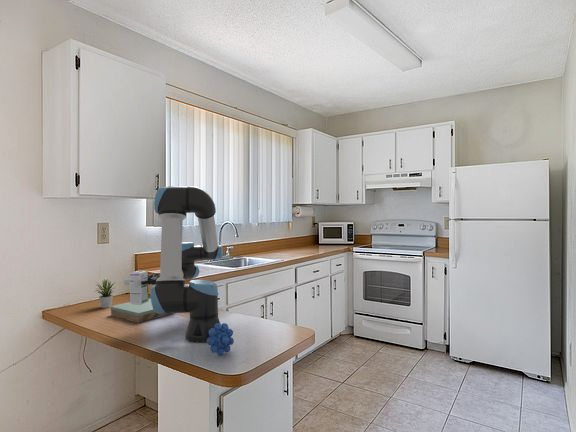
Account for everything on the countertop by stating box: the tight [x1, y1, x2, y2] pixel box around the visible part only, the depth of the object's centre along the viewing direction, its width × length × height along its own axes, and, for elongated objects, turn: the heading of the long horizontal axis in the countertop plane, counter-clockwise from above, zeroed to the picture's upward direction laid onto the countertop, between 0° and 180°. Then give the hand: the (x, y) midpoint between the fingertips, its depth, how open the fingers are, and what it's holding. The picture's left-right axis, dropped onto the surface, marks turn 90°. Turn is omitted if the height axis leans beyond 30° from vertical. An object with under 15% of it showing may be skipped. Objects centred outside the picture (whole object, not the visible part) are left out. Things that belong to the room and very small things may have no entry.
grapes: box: [206, 322, 235, 356], centre depth 131 cm, size 12×7×12 cm, turn 139°
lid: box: [109, 297, 155, 316], centre depth 190 cm, size 22×25×8 cm
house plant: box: [93, 278, 115, 309], centre depth 207 cm, size 14×14×16 cm
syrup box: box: [129, 270, 149, 305], centre depth 166 cm, size 6×6×14 cm
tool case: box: [110, 309, 172, 323], centre depth 190 cm, size 22×24×3 cm
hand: (128, 283), depth 162 cm, fingers closed on syrup box, 7 cm apart
